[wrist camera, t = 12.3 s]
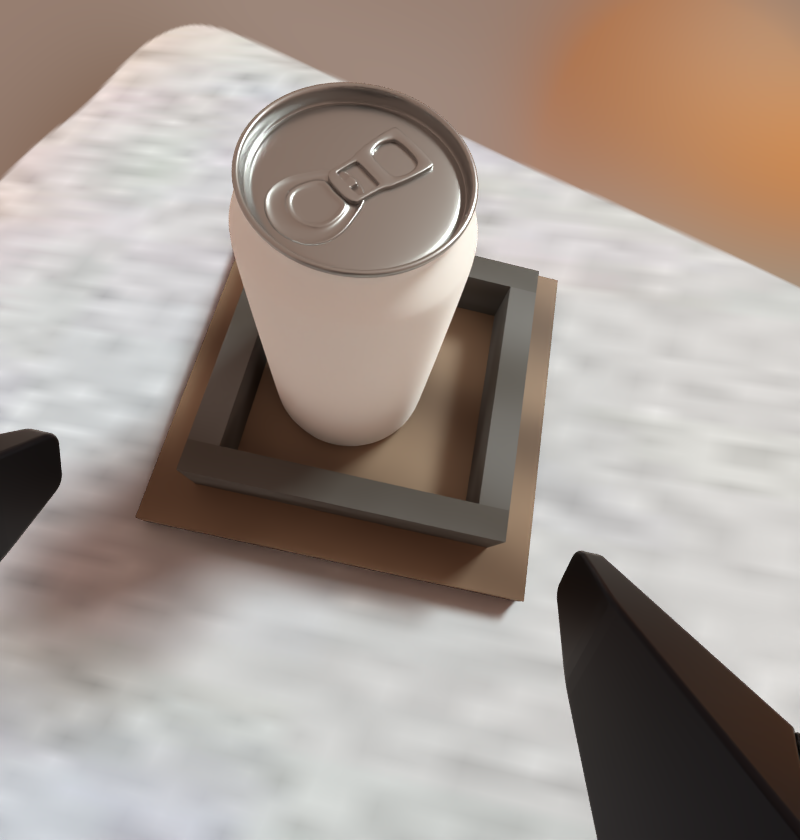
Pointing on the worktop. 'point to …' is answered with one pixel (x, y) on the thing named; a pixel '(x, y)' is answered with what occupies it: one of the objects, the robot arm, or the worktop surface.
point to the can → (352, 250)
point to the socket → (374, 449)
